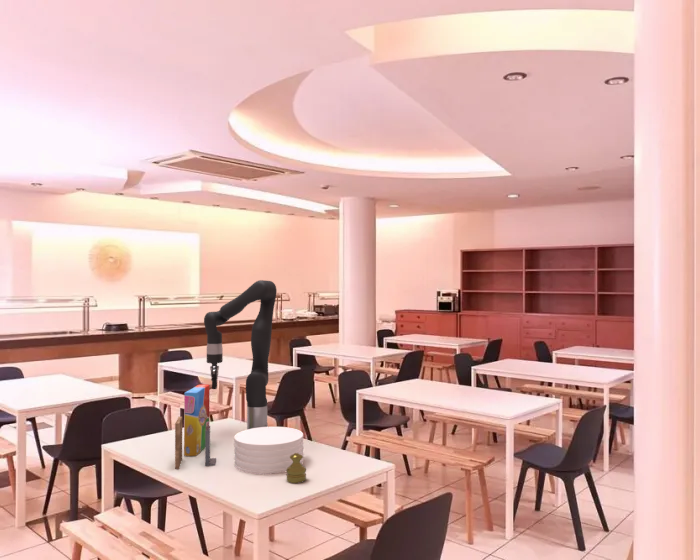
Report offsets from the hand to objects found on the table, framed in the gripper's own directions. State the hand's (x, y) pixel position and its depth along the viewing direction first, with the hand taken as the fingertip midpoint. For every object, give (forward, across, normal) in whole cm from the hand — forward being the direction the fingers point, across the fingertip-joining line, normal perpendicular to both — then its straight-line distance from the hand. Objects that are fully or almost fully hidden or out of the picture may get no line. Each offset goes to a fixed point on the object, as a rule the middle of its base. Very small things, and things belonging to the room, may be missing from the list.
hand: (214, 388), depth 270 cm
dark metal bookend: (+23, -41, 0) cm, 47 cm away
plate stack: (+23, -46, -24) cm, 57 cm away
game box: (+23, -21, +6) cm, 32 cm away
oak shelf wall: (+23, -41, +12) cm, 49 cm away
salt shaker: (+23, -69, -33) cm, 80 cm away
